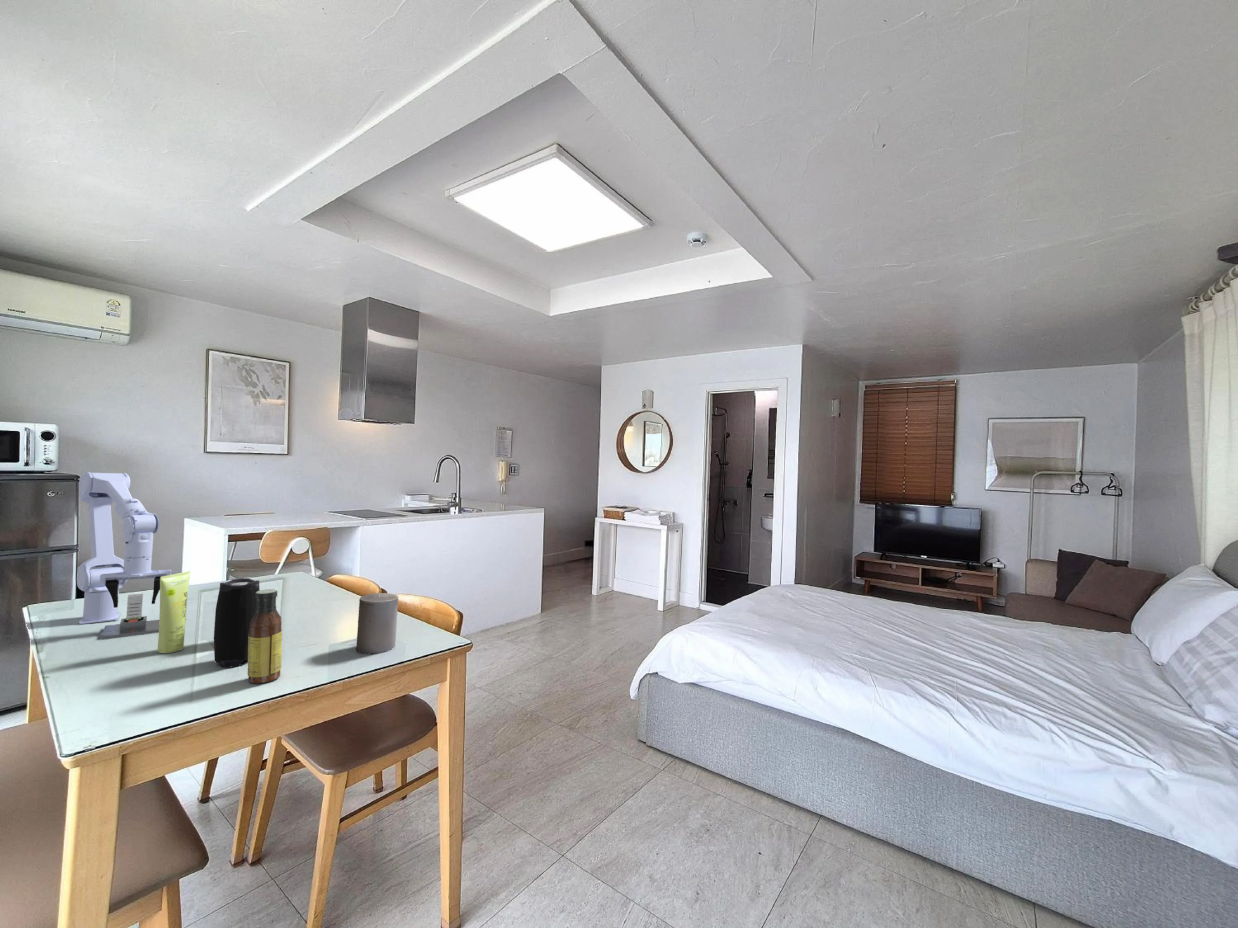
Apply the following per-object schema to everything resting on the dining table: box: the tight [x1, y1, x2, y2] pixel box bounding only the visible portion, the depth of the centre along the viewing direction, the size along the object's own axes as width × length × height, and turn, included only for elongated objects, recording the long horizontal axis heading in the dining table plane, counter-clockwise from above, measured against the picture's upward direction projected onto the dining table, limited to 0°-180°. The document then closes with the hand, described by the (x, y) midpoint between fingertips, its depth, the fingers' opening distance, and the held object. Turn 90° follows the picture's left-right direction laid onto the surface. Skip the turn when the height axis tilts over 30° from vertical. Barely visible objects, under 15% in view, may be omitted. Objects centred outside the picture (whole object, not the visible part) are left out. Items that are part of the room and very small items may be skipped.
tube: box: [157, 570, 191, 654], centre depth 128 cm, size 6×5×20 cm
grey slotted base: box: [100, 615, 159, 640], centre depth 142 cm, size 12×12×4 cm
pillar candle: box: [355, 591, 399, 655], centre depth 136 cm, size 10×10×15 cm
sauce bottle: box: [247, 588, 283, 685], centre depth 113 cm, size 7×6×20 cm
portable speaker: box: [212, 577, 261, 668], centre depth 123 cm, size 9×9×20 cm
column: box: [125, 593, 144, 620], centre depth 142 cm, size 3×3×6 cm
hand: (134, 604), depth 143 cm, fingers open, 7 cm apart
